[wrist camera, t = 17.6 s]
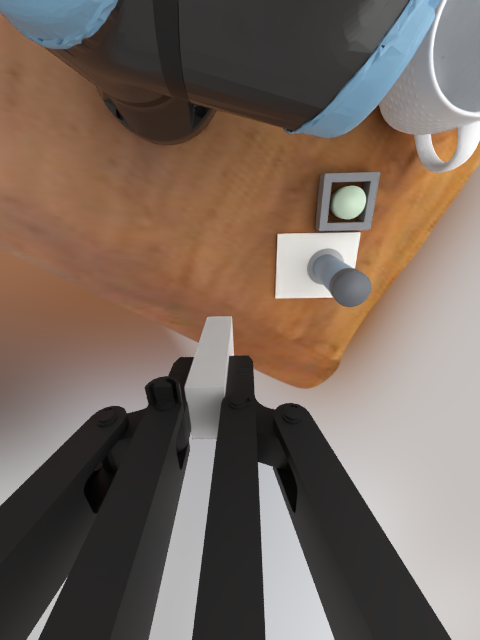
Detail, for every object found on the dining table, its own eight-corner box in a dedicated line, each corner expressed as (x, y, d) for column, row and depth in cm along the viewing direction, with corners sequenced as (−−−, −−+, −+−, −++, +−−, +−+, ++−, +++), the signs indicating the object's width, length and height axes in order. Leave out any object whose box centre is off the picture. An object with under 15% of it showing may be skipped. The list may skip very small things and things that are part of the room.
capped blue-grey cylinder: (311, 280, 41) (332, 307, 31) (313, 253, 39) (336, 272, 29) (337, 280, 41) (367, 306, 31) (341, 253, 39) (374, 271, 29)
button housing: (319, 175, 35) (324, 173, 33) (372, 173, 35) (380, 171, 33) (314, 229, 38) (319, 231, 36) (363, 228, 38) (370, 229, 36)
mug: (455, 160, 34) (566, 141, 23) (370, 190, 36) (431, 186, 24) (457, 11, 29) (607, -122, 17) (355, 54, 30) (425, -39, 18)
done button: (330, 186, 36) (336, 186, 33) (360, 186, 35) (368, 185, 33) (327, 218, 37) (332, 219, 35) (355, 217, 37) (363, 218, 35)
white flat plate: (277, 233, 39) (277, 234, 38) (359, 231, 38) (360, 232, 38) (275, 297, 43) (275, 298, 42) (348, 295, 43) (350, 297, 42)
